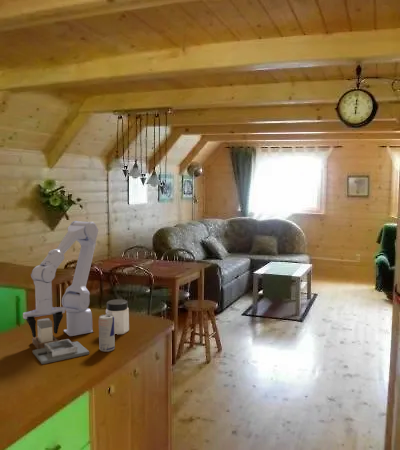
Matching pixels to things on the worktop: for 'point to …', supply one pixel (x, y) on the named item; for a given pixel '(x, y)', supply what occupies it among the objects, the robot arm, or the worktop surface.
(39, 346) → the brown square tray
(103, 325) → the energy drink
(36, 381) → the worktop surface
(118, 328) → the jar
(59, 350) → the socket board
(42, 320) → the plug
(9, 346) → the worktop surface
